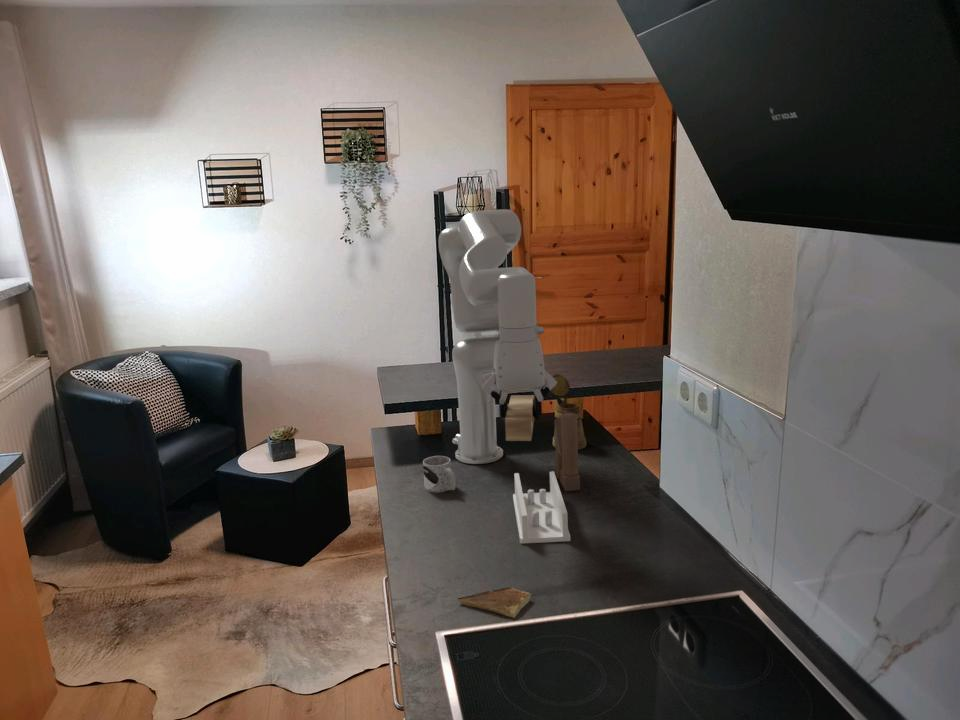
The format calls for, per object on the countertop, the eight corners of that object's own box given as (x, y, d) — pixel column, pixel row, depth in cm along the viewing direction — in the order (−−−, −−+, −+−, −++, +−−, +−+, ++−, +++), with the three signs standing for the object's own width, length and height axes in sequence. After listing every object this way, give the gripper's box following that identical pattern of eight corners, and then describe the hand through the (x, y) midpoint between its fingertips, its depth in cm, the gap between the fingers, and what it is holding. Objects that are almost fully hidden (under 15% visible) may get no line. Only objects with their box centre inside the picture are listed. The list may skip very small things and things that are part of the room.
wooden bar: (511, 415, 162) (510, 395, 161) (534, 415, 162) (534, 395, 161) (505, 440, 147) (505, 419, 146) (531, 440, 146) (530, 418, 145)
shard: (457, 606, 129) (457, 596, 128) (479, 584, 135) (479, 575, 135) (513, 622, 124) (513, 612, 123) (533, 599, 130) (533, 589, 129)
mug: (419, 487, 179) (417, 460, 177) (441, 479, 183) (440, 453, 181) (443, 499, 171) (442, 472, 170) (466, 491, 175) (465, 464, 174)
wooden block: (569, 473, 183) (568, 403, 179) (580, 490, 173) (579, 416, 168) (555, 474, 183) (553, 404, 178) (564, 492, 172) (563, 417, 168)
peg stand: (570, 541, 149) (570, 513, 148) (520, 543, 149) (519, 515, 147) (556, 495, 170) (556, 471, 169) (512, 498, 170) (512, 473, 169)
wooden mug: (571, 432, 212) (570, 371, 208) (591, 448, 199) (590, 383, 195) (542, 436, 210) (540, 374, 205) (560, 452, 197) (558, 387, 193)
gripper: (556, 327, 154) (557, 411, 159) (473, 333, 153) (477, 417, 157) (564, 334, 147) (565, 422, 151) (477, 340, 145) (481, 429, 149)
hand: (520, 419), depth 154 cm, fingers closed on wooden bar, 5 cm apart
